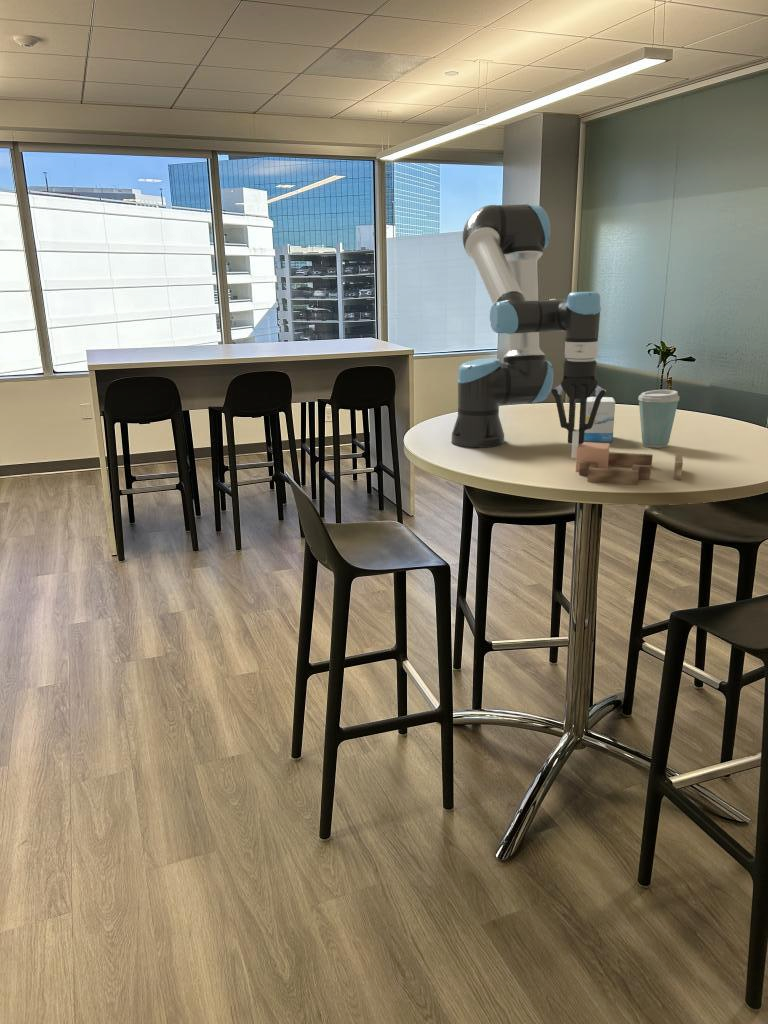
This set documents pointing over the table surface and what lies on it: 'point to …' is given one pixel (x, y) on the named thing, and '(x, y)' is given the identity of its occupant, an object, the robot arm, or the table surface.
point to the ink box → (600, 420)
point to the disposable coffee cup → (657, 416)
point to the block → (593, 454)
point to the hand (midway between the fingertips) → (575, 456)
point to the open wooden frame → (639, 470)
